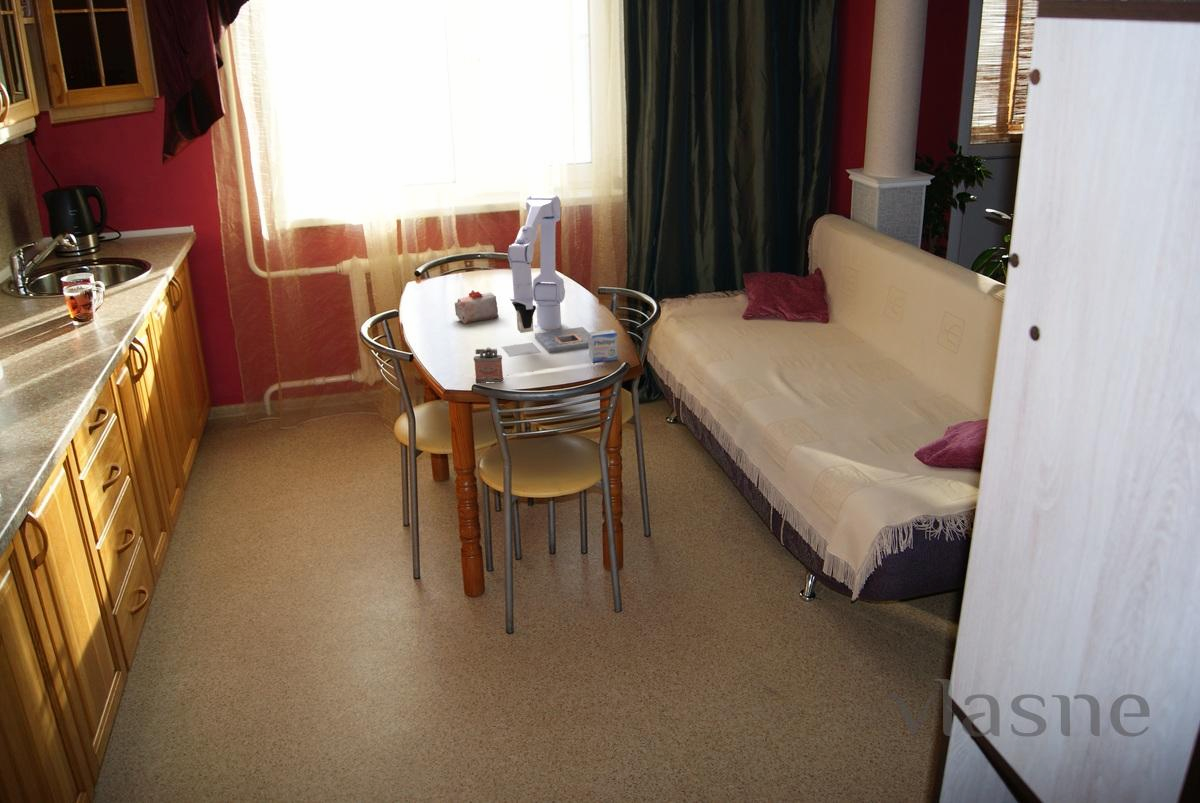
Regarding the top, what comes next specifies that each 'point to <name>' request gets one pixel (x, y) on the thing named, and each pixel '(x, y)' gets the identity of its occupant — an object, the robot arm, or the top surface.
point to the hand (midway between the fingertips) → (525, 325)
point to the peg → (520, 325)
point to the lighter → (488, 366)
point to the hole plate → (563, 339)
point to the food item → (476, 307)
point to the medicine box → (603, 345)
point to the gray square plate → (521, 349)
